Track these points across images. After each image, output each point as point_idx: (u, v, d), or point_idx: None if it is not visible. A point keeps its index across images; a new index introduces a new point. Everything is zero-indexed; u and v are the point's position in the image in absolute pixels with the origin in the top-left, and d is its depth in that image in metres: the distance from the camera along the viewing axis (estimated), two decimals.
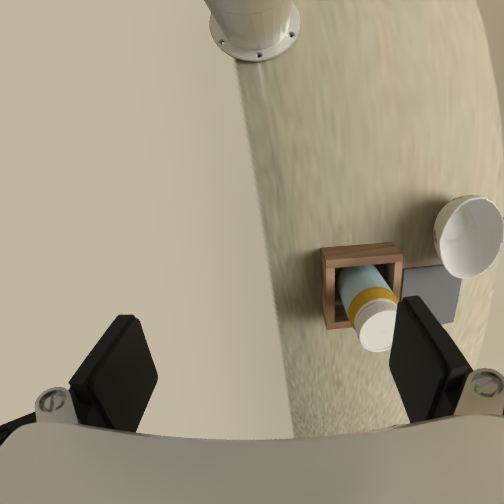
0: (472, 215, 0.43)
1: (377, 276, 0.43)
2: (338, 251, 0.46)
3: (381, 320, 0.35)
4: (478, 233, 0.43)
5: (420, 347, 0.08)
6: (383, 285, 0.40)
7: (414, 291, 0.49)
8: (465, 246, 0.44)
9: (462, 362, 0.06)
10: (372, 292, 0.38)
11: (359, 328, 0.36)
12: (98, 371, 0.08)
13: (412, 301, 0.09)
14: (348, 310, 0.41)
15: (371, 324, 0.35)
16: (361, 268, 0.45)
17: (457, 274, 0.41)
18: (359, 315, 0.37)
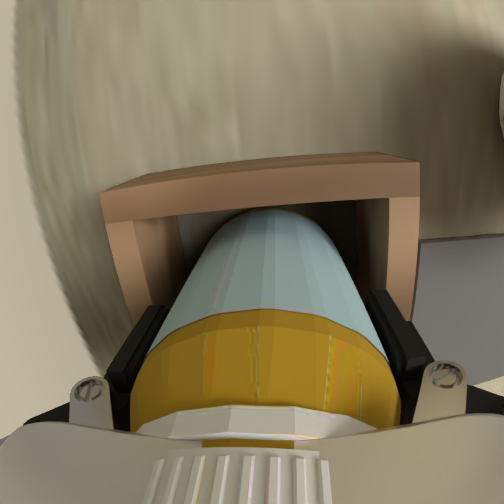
0: None
1: (307, 255, 0.10)
2: (178, 172, 0.13)
3: None
4: None
5: (383, 338, 0.09)
6: (320, 300, 0.07)
7: (446, 307, 0.16)
8: None
9: (421, 353, 0.07)
10: (218, 349, 0.06)
11: None
12: (135, 359, 0.08)
13: (379, 295, 0.10)
14: None
15: None
16: (254, 227, 0.12)
17: None
18: None
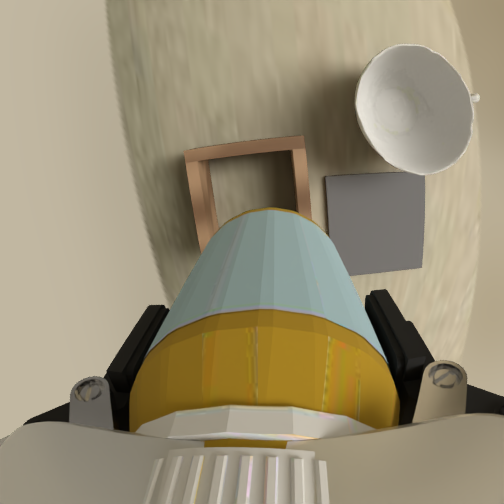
0: (423, 96, 0.28)
1: (306, 255, 0.10)
2: None
3: None
4: (437, 122, 0.29)
5: (382, 338, 0.09)
6: (319, 300, 0.07)
7: (348, 212, 0.35)
8: (420, 140, 0.30)
9: (420, 353, 0.07)
10: (217, 349, 0.06)
11: None
12: (135, 359, 0.08)
13: (378, 294, 0.10)
14: None
15: None
16: (254, 227, 0.12)
17: (402, 167, 0.26)
18: None
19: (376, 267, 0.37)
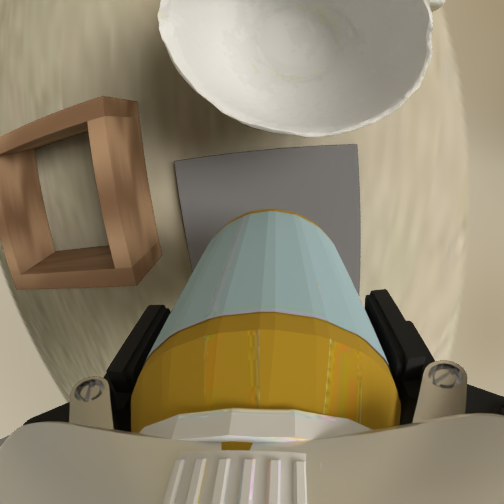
0: (345, 13, 0.15)
1: (307, 257, 0.10)
2: None
3: None
4: (372, 53, 0.15)
5: (382, 338, 0.09)
6: (320, 303, 0.07)
7: (216, 218, 0.22)
8: (339, 86, 0.17)
9: (420, 353, 0.07)
10: (219, 352, 0.06)
11: None
12: (135, 359, 0.08)
13: (378, 295, 0.10)
14: None
15: None
16: (255, 229, 0.12)
17: (267, 124, 0.13)
18: None
19: None
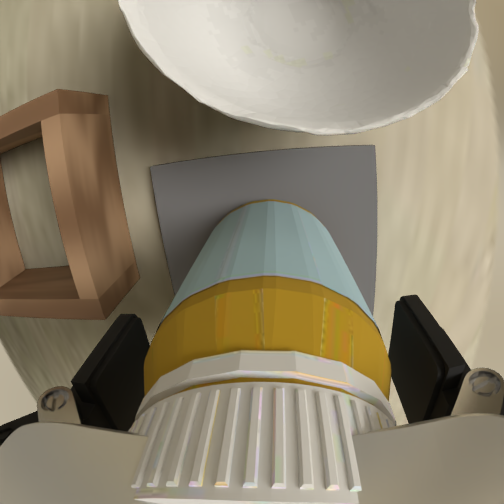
0: None
1: (304, 237, 0.11)
2: None
3: None
4: (394, 32, 0.12)
5: (418, 346, 0.08)
6: (316, 271, 0.08)
7: (201, 236, 0.18)
8: (354, 72, 0.13)
9: (460, 361, 0.06)
10: (228, 308, 0.07)
11: None
12: (100, 370, 0.08)
13: (410, 300, 0.09)
14: None
15: None
16: (256, 215, 0.13)
17: (262, 116, 0.09)
18: None
19: None
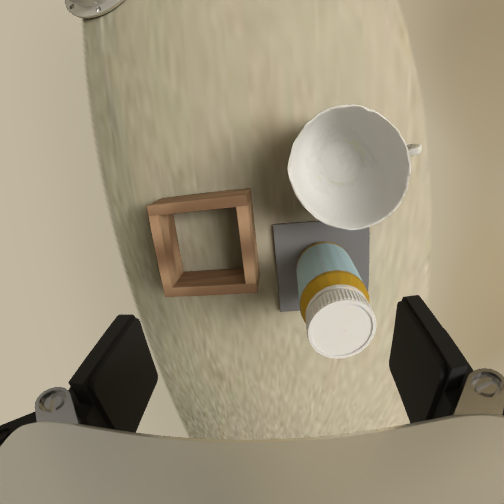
0: (368, 147, 0.34)
1: (342, 259, 0.34)
2: (173, 199, 0.38)
3: (338, 314, 0.26)
4: (380, 172, 0.34)
5: (420, 347, 0.08)
6: (348, 269, 0.31)
7: (294, 256, 0.41)
8: (362, 191, 0.36)
9: (463, 361, 0.06)
10: (330, 277, 0.29)
11: (308, 324, 0.27)
12: (98, 371, 0.08)
13: (412, 301, 0.09)
14: (300, 301, 0.32)
15: (324, 320, 0.26)
16: (324, 250, 0.36)
17: (333, 223, 0.32)
18: (310, 307, 0.28)
19: None
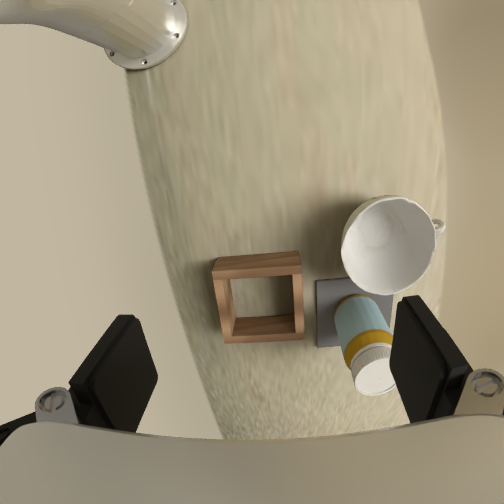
0: (400, 218, 0.41)
1: (376, 315, 0.40)
2: (232, 261, 0.44)
3: (378, 367, 0.33)
4: (408, 240, 0.41)
5: (420, 347, 0.08)
6: (382, 326, 0.38)
7: (332, 305, 0.47)
8: (392, 255, 0.42)
9: (463, 361, 0.06)
10: (370, 335, 0.36)
11: (355, 374, 0.34)
12: (98, 371, 0.08)
13: (412, 301, 0.09)
14: (344, 352, 0.38)
15: (367, 371, 0.33)
16: (360, 305, 0.43)
17: (372, 289, 0.39)
18: (355, 360, 0.35)
19: None
